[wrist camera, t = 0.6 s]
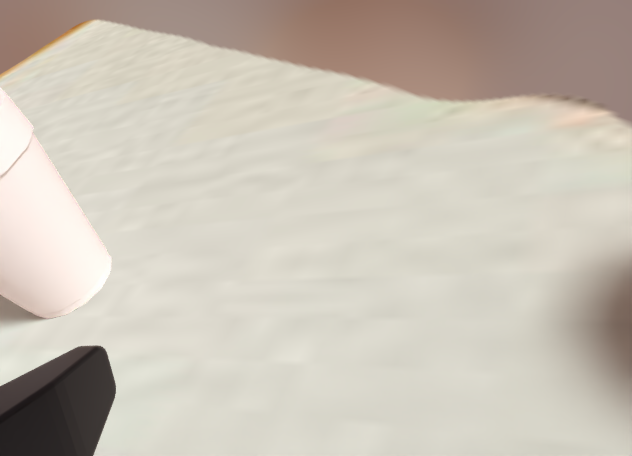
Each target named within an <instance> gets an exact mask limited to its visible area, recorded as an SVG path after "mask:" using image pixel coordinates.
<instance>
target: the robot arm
mask: <svg viewBox="0 0 632 456" xmlns="http://www.w3.org/2000/svg"><path fill="white" fill-rule="evenodd" d="M115 394H116V385H115V380H114V377H113V373H112V369H111V366H110V362H109V359H108V355H107V352H106V350H105V349H104V348H103V347H101V346H80V347H77V348H75V349H73V350H71V351H69V352H67V353H65V354H63V355H61V356H59V357H57V358H55V359H53V360H51V361H49V362H47V363H45V364H43V365H41V366H39V367H37V368H35V369H34V370H32V371H30V372H28V373H26V374H24V375H22V376H20V377H18V378H16V379H14V380H12V381H10V382H8V383H6V384H4V385H2V386H0V456H93V455H94V452H95V449H96V447H97V444H98V441H99V439H100V436H101V433H102V431H103V428H104V425H105V423H106V420H107V417H108V415H109V412H110V409H111V407H112V404H113V401H114V398H115Z"/></svg>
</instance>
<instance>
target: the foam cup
mask: <svg viewBox="0 0 632 456" xmlns="http://www.w3.org/2000/svg"><path fill="white" fill-rule="evenodd" d="M33 128H34V127H33V125H32V124H31V123H30V122H29V120H28V119H27V118H26V117H25V116H24V114H23V113H22V112H21V111H20V109H19V108H18V107H17V106H16V105H15V103H14V102H13V101H12V100H11V98H10V97H9V96H8V95H7V94H6V92H5V91H4V90H3V89H2V88H1V87H0V295H2V296H4V297H5V298H7V299H8V300H10V301H12V302H13V303H15V304H17V305H18V306H20V307H22V308H23V309H25V310H27V311H29V312H32V313H33V314H34V315H36V316H39V317H43V318H46V319H50V318H55V317H59V316H63V315H67V314H69V313H70V312H72V311H74V310H75V309H77V308H79V307H81V306H82V305H84V304H86V303H87V302H88V301H89V300H90V299H91V298H92V297H93V296H94V295H95V294H96V293H97V292H98V291H99V290H100V289H101V288H102V286H103V285H104V283H105V281H106V279H107V277H108V276H109V274H110V272H111V261H112V257H111V256H110V255H109V254H108V250H107V249H106V247H105V246H104V244H103V242H102V241H101V239H100V238H99V236H98V235H97V233H96V231H95V230H94V228H93V227H92V225H91V223H90V222H89V220H88V219H87V217H86V216H85V214H84V212H83V211H82V209H81V208H80V206H79V204H78V203H77V201H76V200H75V198H74V196H73V195H72V193H71V192H70V190H69V189H68V187H67V185H66V184H65V182H64V181H63V179H62V177H61V176H60V174H59V173H58V171H57V169H56V168H55V166H54V165H53V163H52V162H51V160H50V158H49V157H48V155H47V154H46V152H45V150H44V149H43V147H42V146H41V144H40V143H39V141H38V139H37V138H36V136H35V135H34V133H33Z"/></svg>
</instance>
